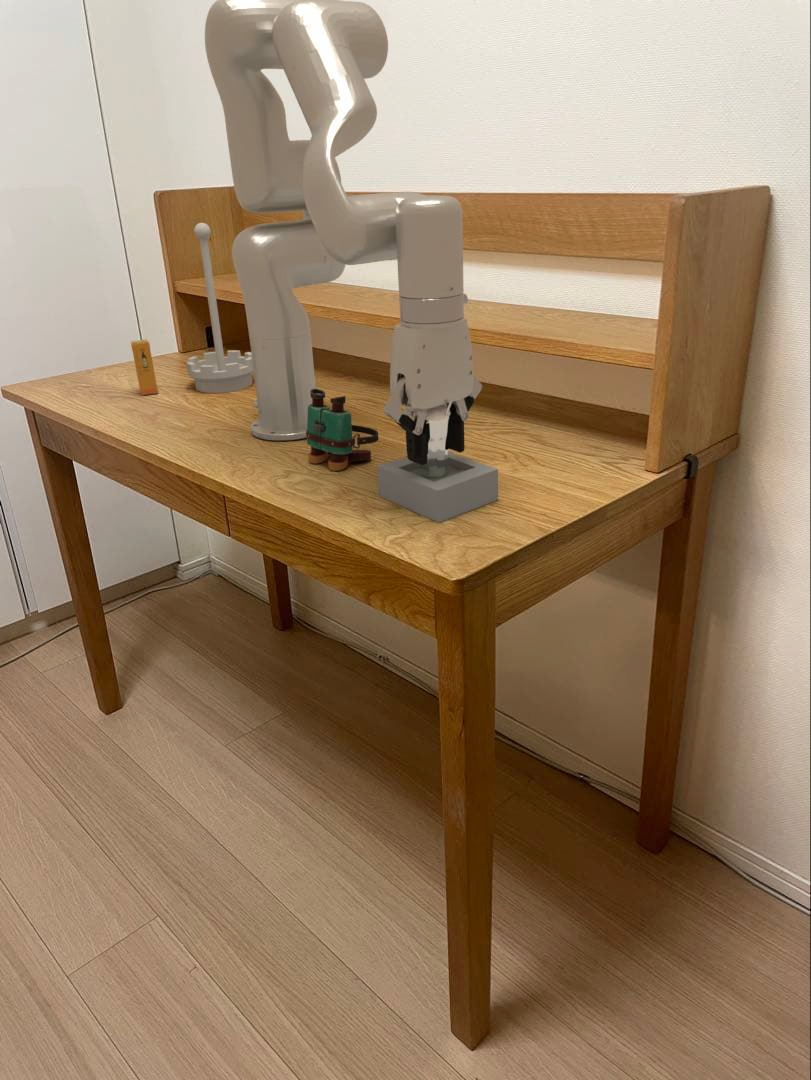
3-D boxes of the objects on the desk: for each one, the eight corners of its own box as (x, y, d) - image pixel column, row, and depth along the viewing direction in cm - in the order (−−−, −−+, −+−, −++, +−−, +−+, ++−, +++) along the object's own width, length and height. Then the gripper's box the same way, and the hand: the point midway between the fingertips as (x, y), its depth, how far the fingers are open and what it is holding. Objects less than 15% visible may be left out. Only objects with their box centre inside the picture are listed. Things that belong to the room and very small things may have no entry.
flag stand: (257, 391, 160) (236, 223, 147) (187, 397, 159) (160, 228, 146) (257, 374, 172) (238, 217, 159) (193, 379, 170) (168, 222, 158)
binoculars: (388, 391, 120) (334, 400, 114) (387, 462, 124) (334, 475, 118) (347, 381, 126) (294, 389, 120) (347, 449, 130) (295, 461, 123)
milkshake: (441, 484, 105) (439, 406, 100) (409, 475, 108) (405, 399, 104) (464, 473, 108) (462, 396, 103) (432, 464, 111) (429, 390, 107)
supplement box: (157, 389, 164) (148, 338, 160) (158, 394, 161) (149, 341, 157) (139, 391, 164) (130, 340, 159) (140, 396, 161) (131, 343, 156)
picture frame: (378, 495, 110) (376, 465, 109) (436, 475, 116) (435, 447, 114) (439, 522, 102) (438, 490, 100) (498, 499, 107) (498, 469, 106)
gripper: (463, 296, 106) (465, 433, 114) (353, 317, 97) (364, 465, 104) (506, 302, 101) (505, 446, 109) (394, 325, 91) (402, 481, 99)
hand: (436, 454), depth 106 cm, fingers open, 5 cm apart
